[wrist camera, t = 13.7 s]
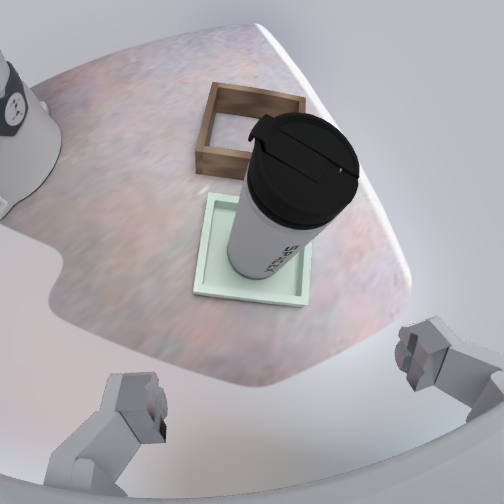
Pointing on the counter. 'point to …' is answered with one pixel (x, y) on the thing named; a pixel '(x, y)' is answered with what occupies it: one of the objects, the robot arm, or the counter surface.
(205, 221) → the dock
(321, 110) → the counter surface
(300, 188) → the travel mug
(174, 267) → the counter surface
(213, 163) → the square wooden frame
